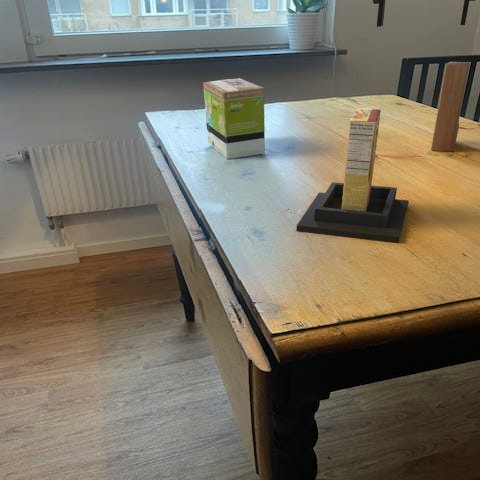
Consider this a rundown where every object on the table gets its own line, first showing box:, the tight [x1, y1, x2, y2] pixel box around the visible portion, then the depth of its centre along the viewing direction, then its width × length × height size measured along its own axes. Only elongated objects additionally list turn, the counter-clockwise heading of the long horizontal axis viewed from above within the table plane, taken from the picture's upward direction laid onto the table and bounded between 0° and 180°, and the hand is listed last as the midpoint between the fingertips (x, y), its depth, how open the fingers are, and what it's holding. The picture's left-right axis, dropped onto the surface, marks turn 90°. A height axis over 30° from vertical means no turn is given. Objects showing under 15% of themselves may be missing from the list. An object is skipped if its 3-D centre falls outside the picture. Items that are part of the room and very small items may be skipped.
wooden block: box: [430, 61, 471, 153], centre depth 113 cm, size 9×4×18 cm, turn 154°
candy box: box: [341, 107, 382, 212], centre depth 81 cm, size 9×4×15 cm, turn 163°
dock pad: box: [295, 181, 409, 244], centre depth 84 cm, size 16×16×3 cm
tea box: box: [202, 77, 266, 160], centre depth 118 cm, size 15×10×15 cm, turn 21°
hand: (420, 25), depth 86 cm, fingers open, 13 cm apart
